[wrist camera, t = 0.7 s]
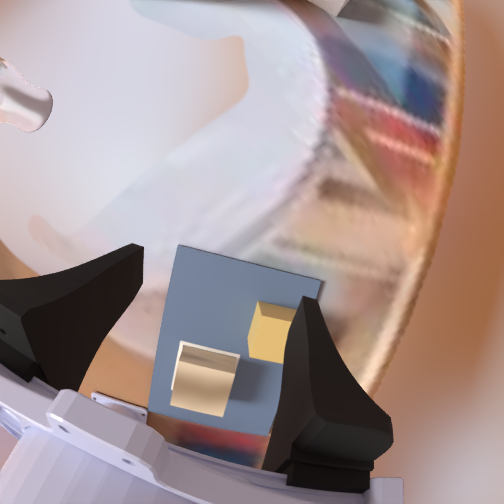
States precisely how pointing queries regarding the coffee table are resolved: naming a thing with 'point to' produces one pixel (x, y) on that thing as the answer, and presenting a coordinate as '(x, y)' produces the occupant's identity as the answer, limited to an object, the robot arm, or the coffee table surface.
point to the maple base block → (203, 381)
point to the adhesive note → (331, 5)
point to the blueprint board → (223, 333)
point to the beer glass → (22, 100)
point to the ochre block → (269, 331)
